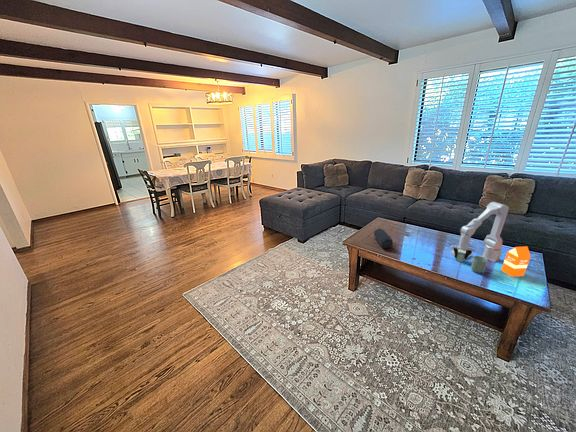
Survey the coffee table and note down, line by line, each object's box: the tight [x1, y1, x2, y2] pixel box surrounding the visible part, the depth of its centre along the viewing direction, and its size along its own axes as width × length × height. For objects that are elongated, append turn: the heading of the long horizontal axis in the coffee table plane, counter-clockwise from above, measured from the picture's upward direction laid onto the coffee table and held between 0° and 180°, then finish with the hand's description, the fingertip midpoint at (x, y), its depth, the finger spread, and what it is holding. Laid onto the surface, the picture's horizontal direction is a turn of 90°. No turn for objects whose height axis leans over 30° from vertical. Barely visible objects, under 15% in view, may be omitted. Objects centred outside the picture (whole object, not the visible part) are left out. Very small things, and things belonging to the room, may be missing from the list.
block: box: [455, 251, 466, 263], centre depth 177 cm, size 4×4×6 cm
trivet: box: [450, 249, 473, 259], centre depth 185 cm, size 10×10×3 cm
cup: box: [470, 255, 489, 274], centre depth 162 cm, size 8×8×10 cm
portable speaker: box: [373, 228, 394, 249], centre depth 206 cm, size 25×10×10 cm, turn 178°
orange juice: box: [501, 245, 531, 277], centre depth 158 cm, size 8×9×20 cm
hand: (460, 258), depth 178 cm, fingers closed on block, 6 cm apart
